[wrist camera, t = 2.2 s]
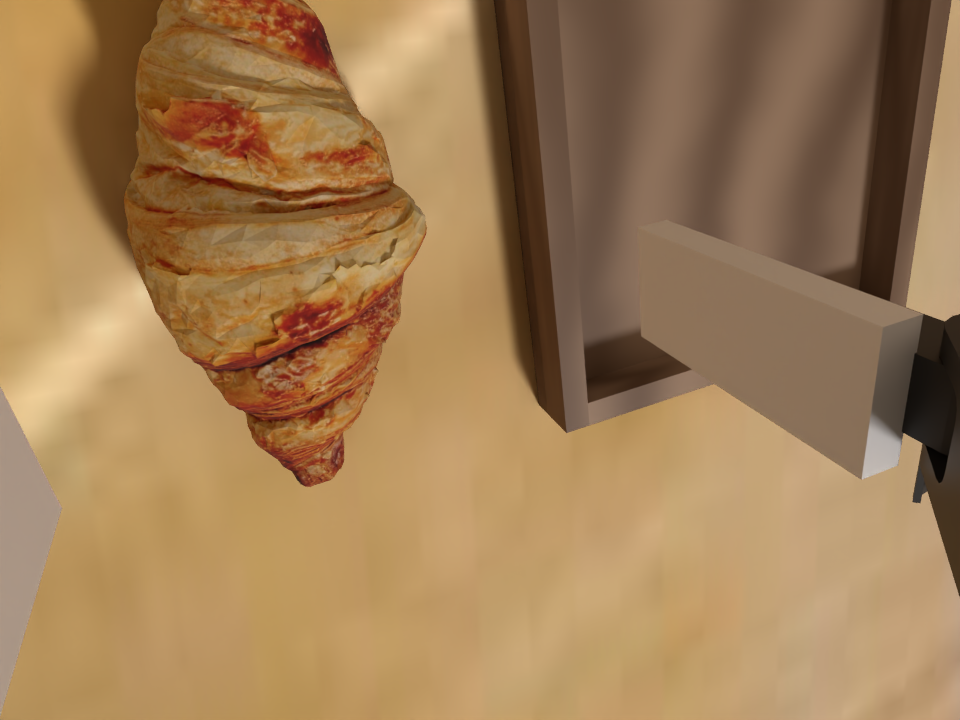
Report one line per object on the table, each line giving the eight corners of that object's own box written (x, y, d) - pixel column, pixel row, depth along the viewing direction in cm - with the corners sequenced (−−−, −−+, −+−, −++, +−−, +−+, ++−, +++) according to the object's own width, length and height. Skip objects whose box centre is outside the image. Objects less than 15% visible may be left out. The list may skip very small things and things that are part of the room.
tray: (539, 404, 35) (566, 432, 32) (450, -397, 22) (483, -457, 19) (858, 303, 40) (903, 320, 38) (939, -390, 27) (1016, -436, 25)
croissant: (135, -82, 25) (-46, -134, 18) (409, -109, 24) (333, -179, 16) (249, 434, 33) (157, 541, 26) (455, 437, 32) (419, 551, 25)
